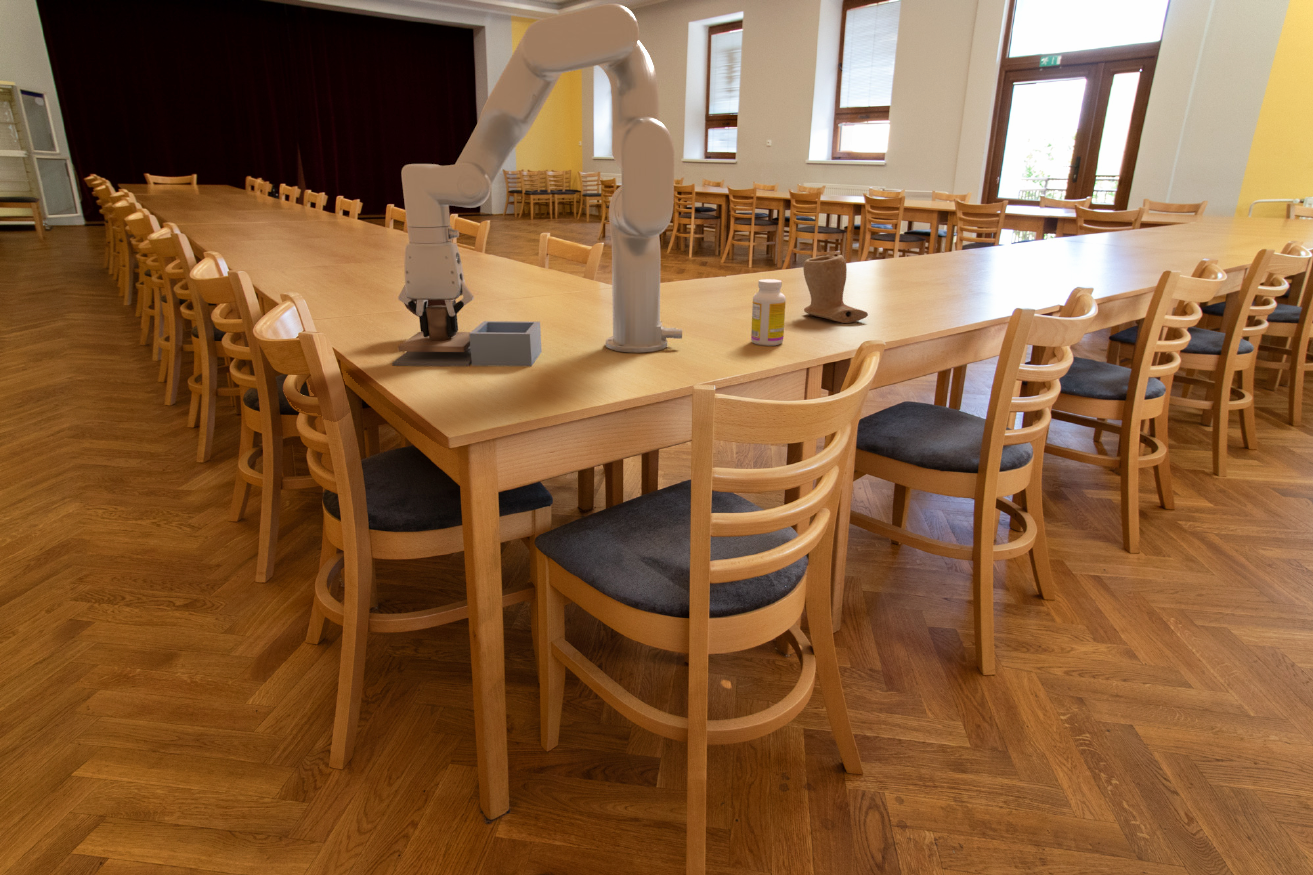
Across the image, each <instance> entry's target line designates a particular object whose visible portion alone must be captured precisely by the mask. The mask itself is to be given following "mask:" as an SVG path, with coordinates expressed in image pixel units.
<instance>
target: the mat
mask: <svg viewBox="0 0 1313 875" xmlns="http://www.w3.org/2000/svg"><path fill="white" fill-rule="evenodd" d="M391 363H392V364H391V365H392V366H396V367H398V366H399V367H400V366H403V367H407V366H408V367H409V366H411V367H470V365H472V360H471V348H470V347H469V348H468V349H467V350H465V351H464V352H406V351H405V352H404V353H402V355H400V356H399V357H397V358H396V359H395V360H393V361H392V362H391Z"/></svg>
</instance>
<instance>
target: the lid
mask: <svg viewBox="0 0 1313 875" xmlns="http://www.w3.org/2000/svg"><path fill="white" fill-rule="evenodd" d="M426 313H427V322H428V331H429V336H428V337H424V336H423V332H421V331H418V332H416V333H415V334H414V335H412V336H411V337H410V338H408V339H406V340H405V341H404V342H402V343H400V344H399V345H398V346H397V347H398V348H397V350H398V352H405V353H406V352H464V351H465V350H467V349H468V348H469V347H470V336H469V333H470V332H471V331H469V332H468V331H466V332H465V331H461V332H460V331H458V332H456V335H454V336H453V337H448V332H447V322H446V317H447V316H448V310H447V307H446V306H429V307H426Z"/></svg>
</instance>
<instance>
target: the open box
mask: <svg viewBox="0 0 1313 875" xmlns="http://www.w3.org/2000/svg"><path fill="white" fill-rule="evenodd" d="M469 332H470V333H469V336H470V348H471V360H472V363H471V366H474V367H476V366H477V367H480V366H481V367H483V366H484V367H532V366H533V365H534V363H535V362H536V360H537V359H538V358H539V357H540V355H541V353H542V352H543V351H542V335H541V334H542V333H541V332H542V331H541V321H521V320H520V321H516V320H515V321H512V320H511V321H507V320H505V321H504V320H502V321H501V320H500V321H499V320H497V321H496V320H484V321H482V322H481V323H480V324H478V325H477V326H476V327H475V328H474V329H473V330H472V331H469Z"/></svg>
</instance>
